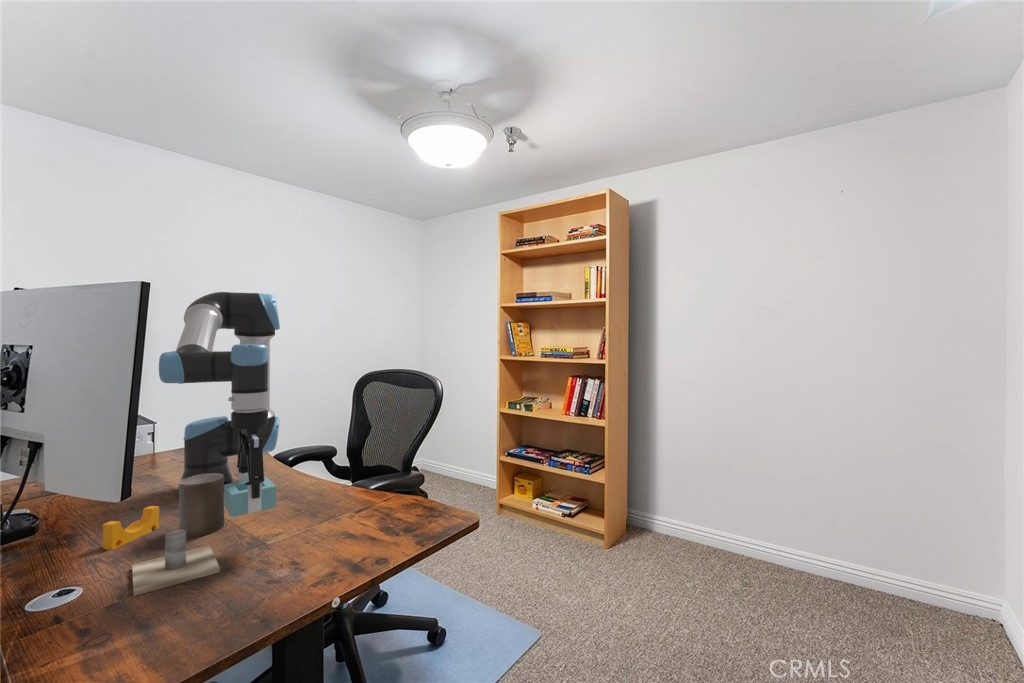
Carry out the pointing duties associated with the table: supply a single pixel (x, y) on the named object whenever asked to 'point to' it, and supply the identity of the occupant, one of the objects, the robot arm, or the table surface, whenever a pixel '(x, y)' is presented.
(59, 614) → the table surface
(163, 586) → the post block
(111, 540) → the pipe clamp
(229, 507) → the collar
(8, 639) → the table surface
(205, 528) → the pillar candle
